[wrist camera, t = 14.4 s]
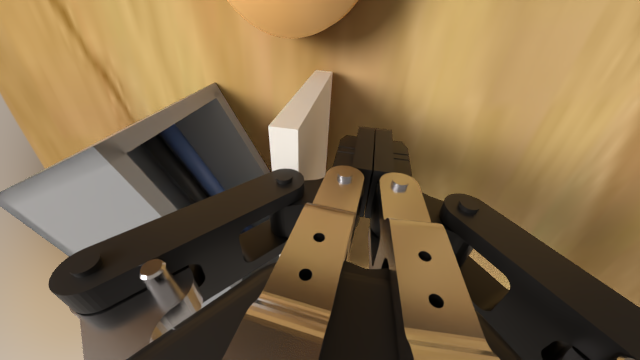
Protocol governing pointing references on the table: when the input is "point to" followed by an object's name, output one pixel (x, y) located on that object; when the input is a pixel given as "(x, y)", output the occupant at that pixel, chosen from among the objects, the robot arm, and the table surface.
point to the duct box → (140, 175)
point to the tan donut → (292, 15)
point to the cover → (303, 129)
